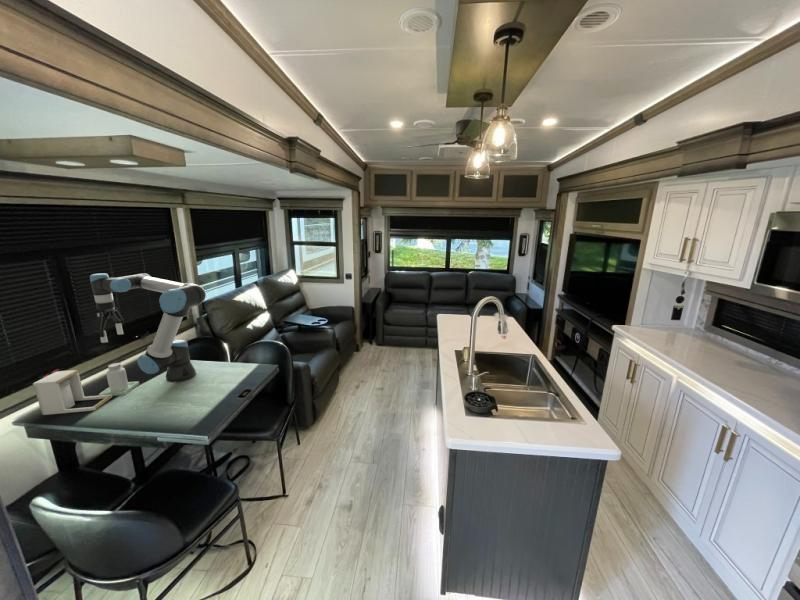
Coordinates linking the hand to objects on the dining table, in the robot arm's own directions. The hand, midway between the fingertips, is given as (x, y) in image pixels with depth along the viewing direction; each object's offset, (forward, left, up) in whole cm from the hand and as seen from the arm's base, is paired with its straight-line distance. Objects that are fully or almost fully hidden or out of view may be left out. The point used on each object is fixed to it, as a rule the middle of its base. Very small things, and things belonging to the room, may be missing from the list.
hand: (112, 338), depth 179 cm
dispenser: (+7, +22, -28) cm, 37 cm away
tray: (-3, +8, -28) cm, 30 cm away
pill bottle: (-3, +8, -28) cm, 29 cm away
